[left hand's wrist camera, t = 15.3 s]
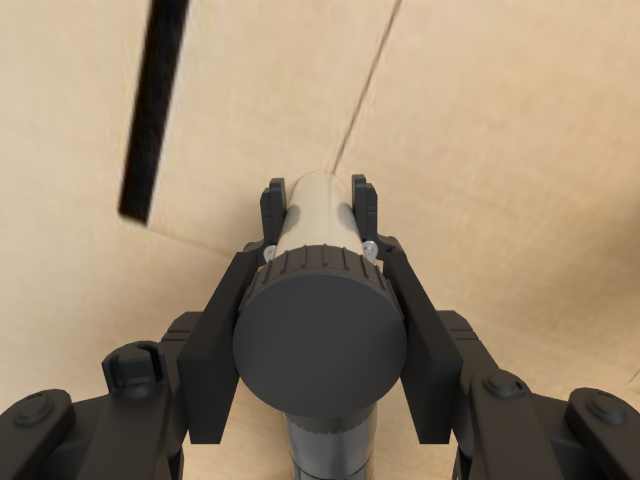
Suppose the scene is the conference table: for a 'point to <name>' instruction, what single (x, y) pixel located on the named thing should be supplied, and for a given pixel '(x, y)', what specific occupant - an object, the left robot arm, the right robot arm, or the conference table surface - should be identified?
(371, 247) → the right robot arm
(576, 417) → the left robot arm
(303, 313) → the lid
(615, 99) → the conference table surface
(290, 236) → the white cylindrical bottle
